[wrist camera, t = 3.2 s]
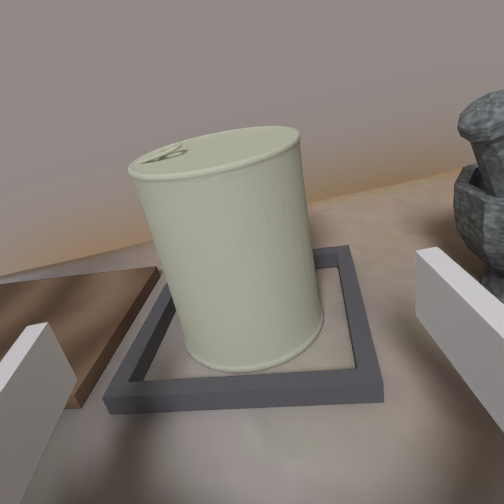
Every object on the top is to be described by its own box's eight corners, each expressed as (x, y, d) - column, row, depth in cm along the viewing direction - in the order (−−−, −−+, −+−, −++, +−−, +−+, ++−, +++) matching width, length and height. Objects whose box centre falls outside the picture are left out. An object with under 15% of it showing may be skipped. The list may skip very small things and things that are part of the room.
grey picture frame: (110, 414, 21) (102, 398, 20) (180, 276, 33) (176, 264, 33) (383, 402, 18) (382, 383, 18) (349, 258, 31) (348, 245, 30)
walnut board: (-151, 419, 24) (-161, 407, 24) (0, 293, 37) (-5, 284, 36) (80, 408, 22) (73, 395, 21) (160, 276, 34) (156, 266, 33)
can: (192, 295, 30) (145, 138, 25) (311, 275, 30) (289, 109, 24) (173, 385, 22) (97, 178, 17) (338, 359, 21) (313, 137, 16)
